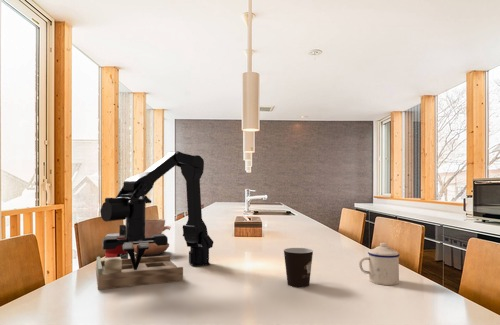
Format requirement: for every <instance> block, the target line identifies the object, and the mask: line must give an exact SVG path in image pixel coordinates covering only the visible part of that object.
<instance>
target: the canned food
mask: <svg viewBox="0 0 500 325" xmlns="http://www.w3.org/2000/svg"><path fill="white" fill-rule="evenodd" d="M105 237H117V239H125V236H119V232H116V233H115V232H114V233H108V234H106V235H105ZM104 252H105V255H104V259H105V258H113V257H121V259H129V254H128V252H127V251H124V250H123V248H122V245H119V246H117V247H116V248H115V249H106V250H104Z"/></svg>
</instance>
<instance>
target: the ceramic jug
mask: <svg viewBox="0 0 500 325" xmlns="http://www.w3.org/2000/svg"><path fill="white" fill-rule="evenodd" d="M171 228H172V227H171V226H169V225H166V219H165V218H151V219H145V238H146V237H152V235H153V234H163V232H164V231H166V230H168V231H170V230H171ZM131 242H132V241H131ZM137 245H138V244H133V248H134V253H135V254H136V253H137ZM148 247H149V249H146V250H145V252H144V254H143V255H142V256H155V255H156V256H157V255H159V254H162V253H164V252H166V251H167V250H168V249H169V247H170V243H169V242H168V245H160V246H158V245H157V244H156V243H149V244H148Z"/></svg>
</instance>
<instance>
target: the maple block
mask: <svg viewBox="0 0 500 325" xmlns="http://www.w3.org/2000/svg"><path fill="white" fill-rule="evenodd" d="M104 260H105V268H104V274H107V273H118V272H122V259H121V257H113V258H105V257H104Z"/></svg>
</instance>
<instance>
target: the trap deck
mask: <svg viewBox="0 0 500 325" xmlns="http://www.w3.org/2000/svg"><path fill="white" fill-rule="evenodd" d="M135 261H136V257H135ZM104 268H105V259H103V260H101V256H96V267H95V270H96V284H97V285H96V286H97V290H98V291H99V290H100V291H101V290H106V289H107V290H108V289H117V288H128V287H136V286H137V287H138V286H145V285H146V286H147V285H156V284H165V283H175V282H176V283H177V282H183V281H184V267H183V266H177V265H176V264H175V263H173V261H172V260H171V255H160V256H159V255H158V256H157V255H156V256H146V257H145V256H144V257H143V256H142V257H141V260H140V263H139V265H138V268H137V270H134V268H133V265H132V262H131V259H130V257H128V259H122V272H118V273H107V274H104Z"/></svg>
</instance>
